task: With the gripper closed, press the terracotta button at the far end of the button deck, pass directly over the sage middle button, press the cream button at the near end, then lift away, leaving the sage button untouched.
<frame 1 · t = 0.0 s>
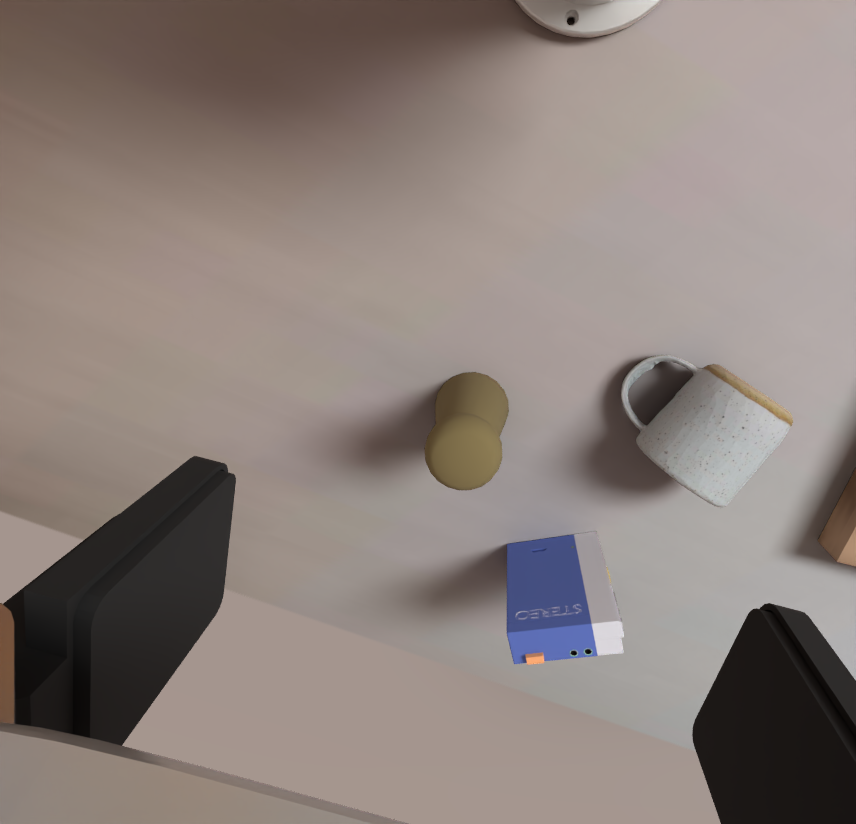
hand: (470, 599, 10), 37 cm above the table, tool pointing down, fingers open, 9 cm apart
ceramic mug: (681, 408, 46), on the table
cork: (471, 407, 48), on the table
walkman: (553, 549, 52), on the table
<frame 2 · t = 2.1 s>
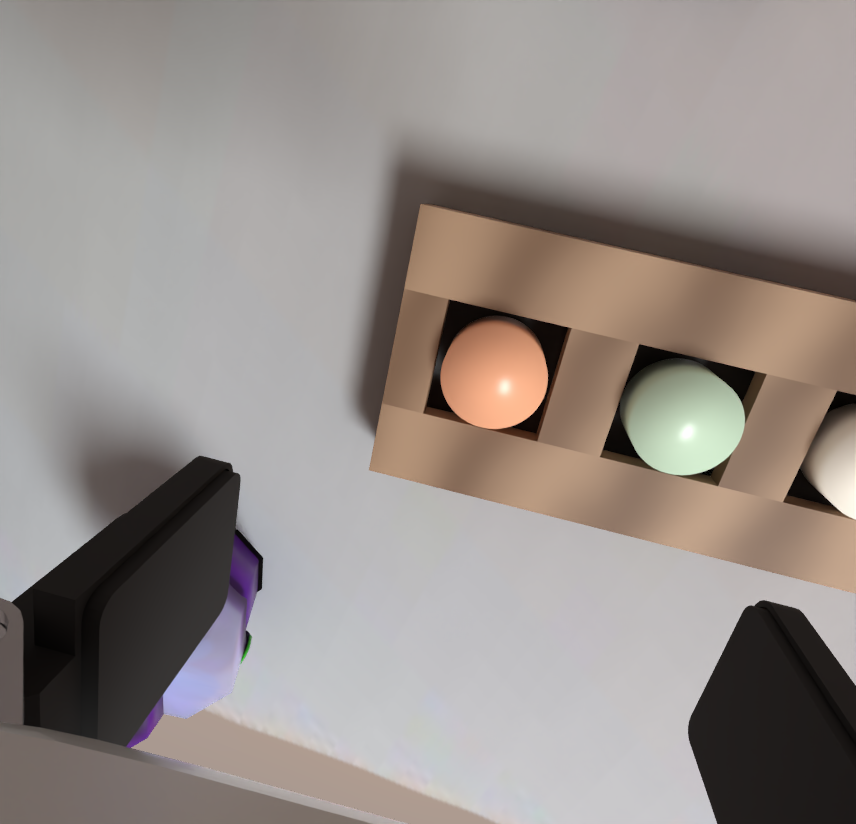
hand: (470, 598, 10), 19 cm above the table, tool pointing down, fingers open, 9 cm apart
sage button: (678, 415, 25), point 3 cm above the table, slide at 0.0 cm
potion bottle: (221, 563, 34), on the table
terracotta button: (494, 371, 25), point 3 cm above the table, slide at 0.0 cm
button deck: (662, 395, 27), on the table
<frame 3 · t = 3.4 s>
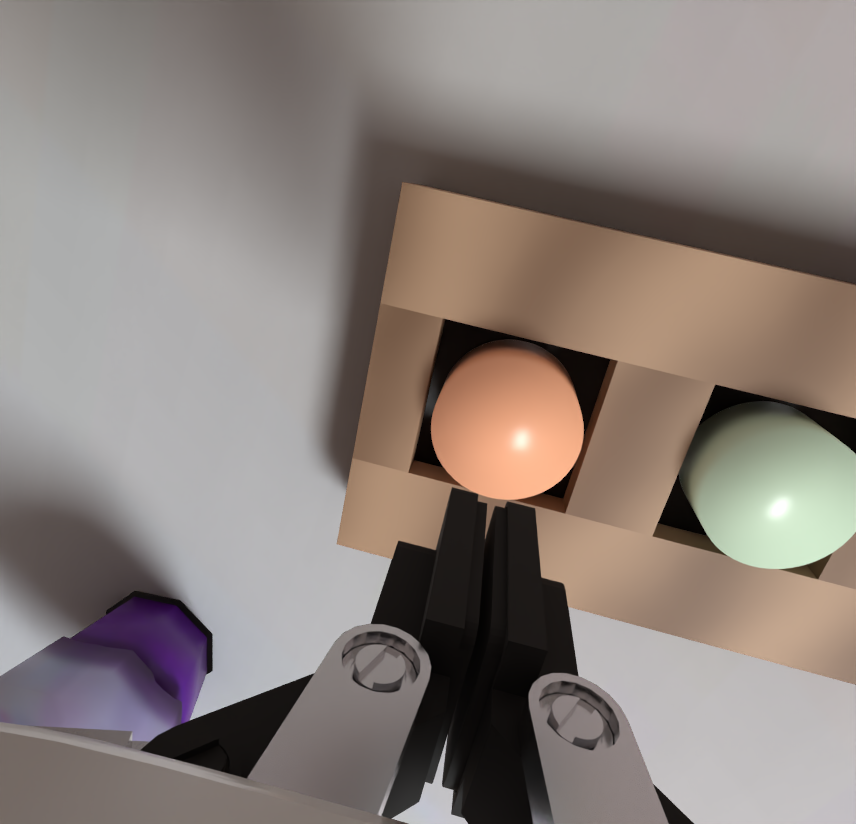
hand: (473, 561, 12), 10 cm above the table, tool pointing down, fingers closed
sage button: (766, 483, 18), point 3 cm above the table, slide at 0.0 cm
potion bottle: (161, 638, 28), on the table
terracotta button: (506, 417, 18), point 3 cm above the table, slide at 0.0 cm
button deck: (734, 446, 20), on the table
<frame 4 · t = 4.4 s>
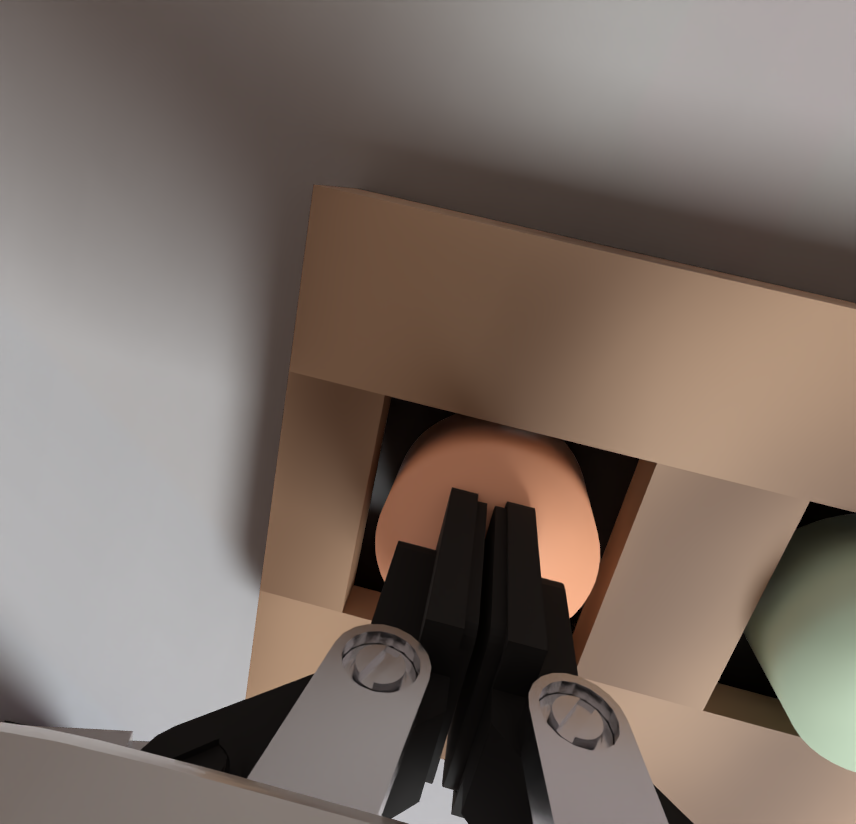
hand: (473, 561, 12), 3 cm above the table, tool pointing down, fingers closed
terracotta button: (487, 523, 13), point 2 cm above the table, slide at 0.7 cm, touching gripper
button deck: (812, 561, 14), on the table
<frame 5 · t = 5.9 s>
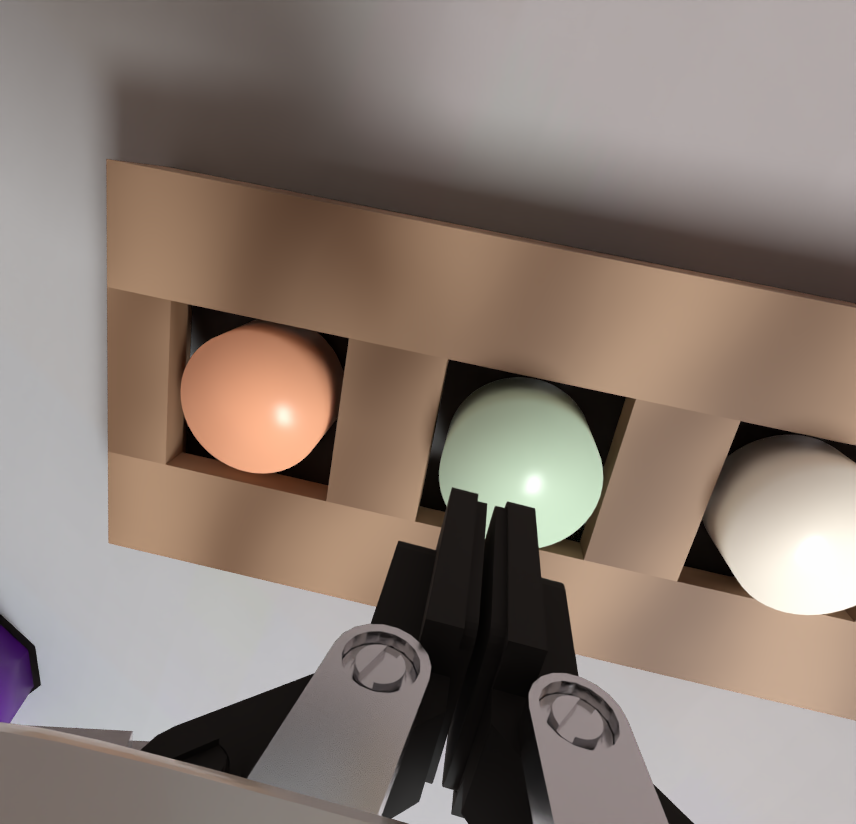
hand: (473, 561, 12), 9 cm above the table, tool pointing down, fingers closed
sage button: (518, 461, 17), point 3 cm above the table, slide at 0.0 cm
cream button: (796, 522, 17), point 3 cm above the table, slide at 0.0 cm
terracotta button: (267, 393, 18), point 2 cm above the table, slide at 1.0 cm
button deck: (516, 427, 20), on the table
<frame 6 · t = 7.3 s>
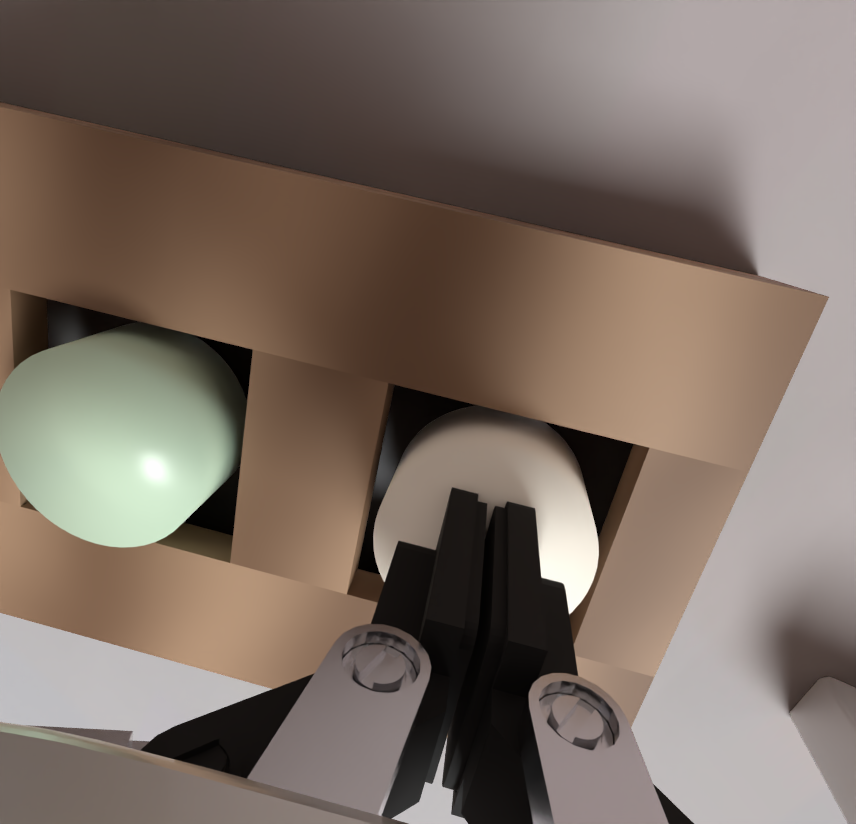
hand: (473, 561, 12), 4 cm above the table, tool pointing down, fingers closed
sage button: (132, 431, 13), point 3 cm above the table, slide at 0.0 cm
cream button: (485, 520, 13), point 3 cm above the table, slide at 0.1 cm, touching gripper
button deck: (196, 392, 16), on the table
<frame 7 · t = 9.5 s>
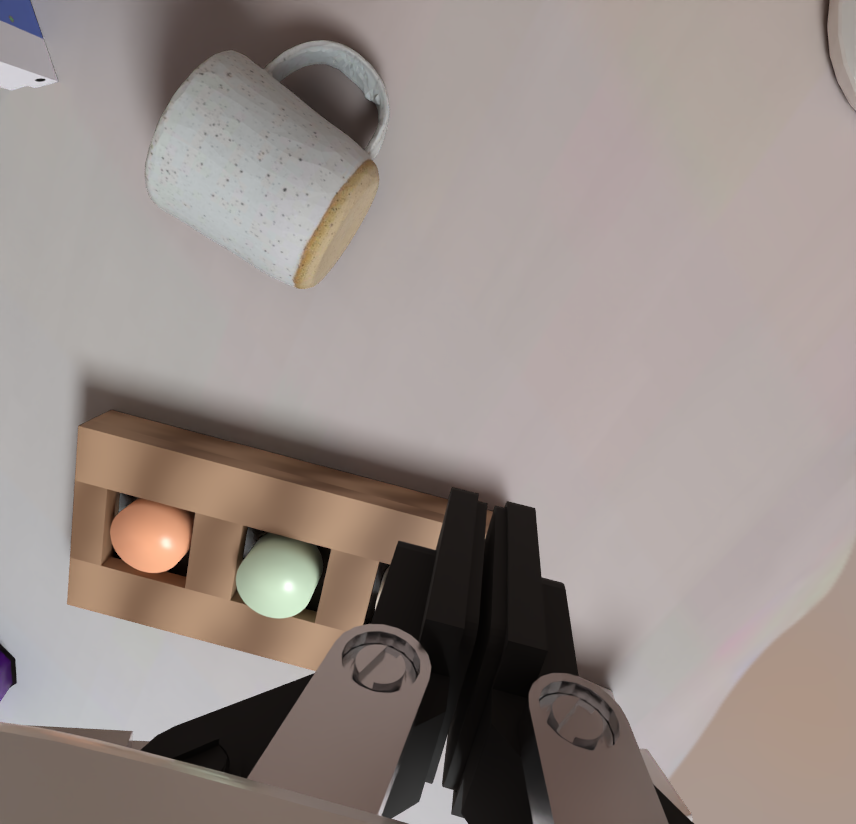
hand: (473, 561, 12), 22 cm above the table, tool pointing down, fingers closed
ceramic mug: (305, 161, 30), on the table
sage button: (280, 573, 34), point 3 cm above the table, slide at 0.0 cm
lighter: (599, 695, 39), on the table
cream button: (414, 598, 35), point 2 cm above the table, slide at 1.0 cm
terracotta button: (157, 529, 35), point 2 cm above the table, slide at 1.0 cm
button deck: (295, 548, 37), on the table
walkman: (8, 2, 29), on the table
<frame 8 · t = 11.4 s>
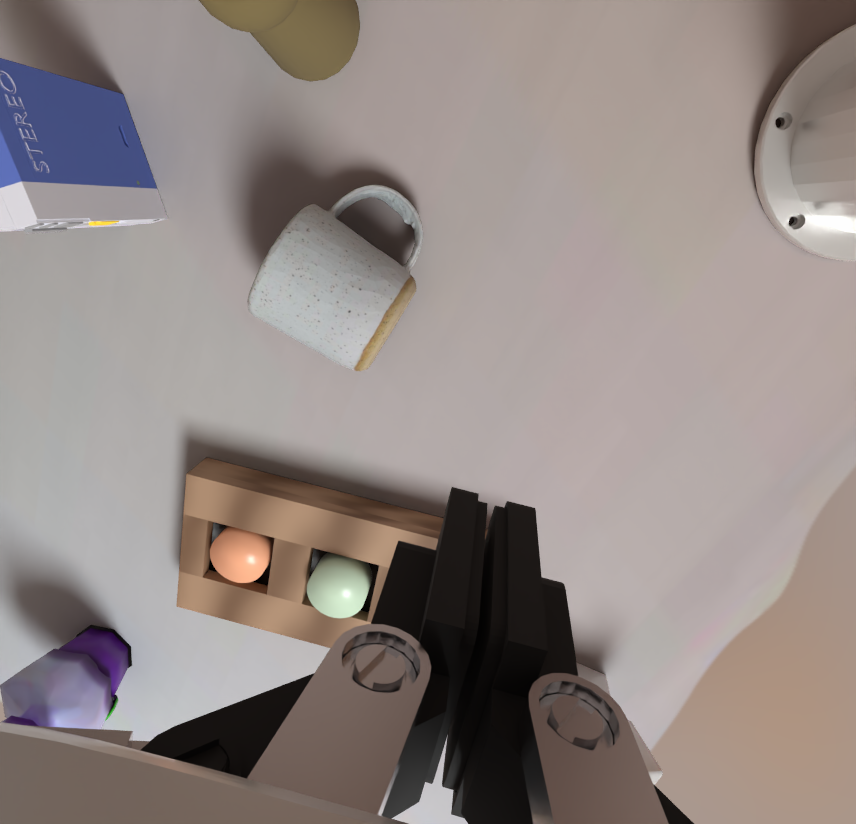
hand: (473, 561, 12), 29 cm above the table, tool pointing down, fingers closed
ceramic mug: (358, 266, 39), on the table
sage button: (340, 583, 44), point 3 cm above the table, slide at 0.0 cm
lighter: (595, 678, 48), on the table
potion bottle: (105, 648, 54), on the table
cork: (311, 24, 35), on the table
terracotta button: (244, 549, 45), point 2 cm above the table, slide at 1.0 cm
button deck: (349, 562, 47), on the table
walkman: (131, 162, 39), on the table
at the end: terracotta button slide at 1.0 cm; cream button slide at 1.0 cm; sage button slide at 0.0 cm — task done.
